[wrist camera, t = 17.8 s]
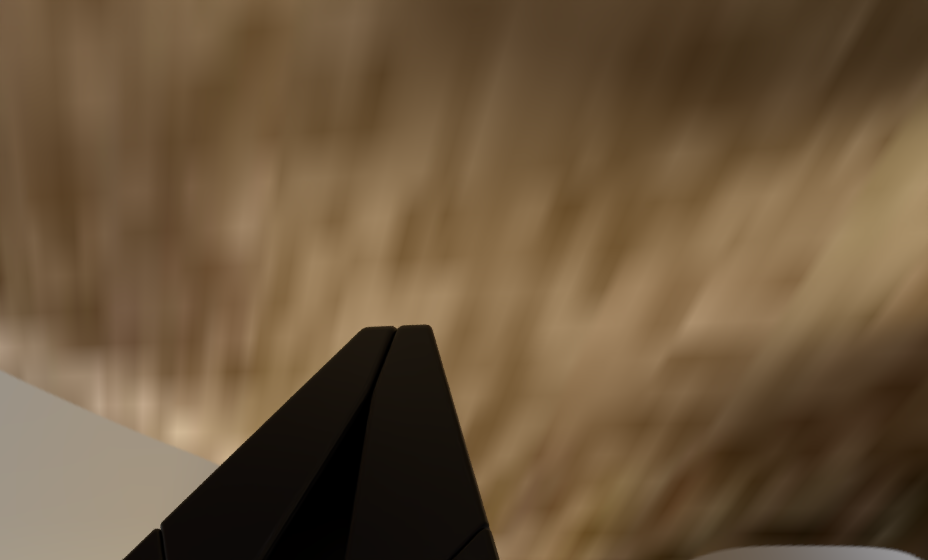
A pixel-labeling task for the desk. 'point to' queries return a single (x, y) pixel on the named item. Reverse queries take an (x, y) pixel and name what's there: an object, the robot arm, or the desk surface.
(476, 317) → the desk surface
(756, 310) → the desk surface
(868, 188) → the desk surface
